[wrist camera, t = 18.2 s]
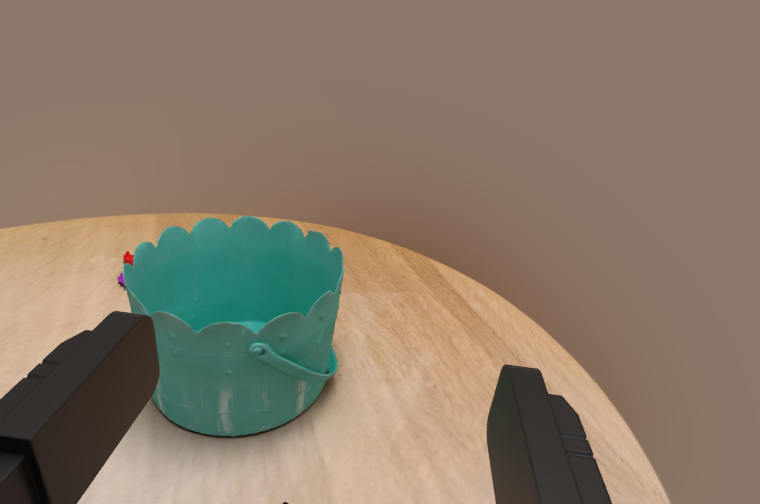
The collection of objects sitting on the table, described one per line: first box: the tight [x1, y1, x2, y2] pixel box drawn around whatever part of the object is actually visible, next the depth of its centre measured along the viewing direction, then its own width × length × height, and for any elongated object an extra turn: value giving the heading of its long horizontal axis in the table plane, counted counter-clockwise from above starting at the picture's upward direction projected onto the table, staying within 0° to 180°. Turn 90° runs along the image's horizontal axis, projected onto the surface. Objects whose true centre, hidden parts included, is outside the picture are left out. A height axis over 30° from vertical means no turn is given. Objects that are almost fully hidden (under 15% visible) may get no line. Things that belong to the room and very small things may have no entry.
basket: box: [123, 216, 344, 436], centre depth 45 cm, size 19×18×13 cm
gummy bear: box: [117, 251, 134, 286], centre depth 59 cm, size 5×3×4 cm, turn 8°
